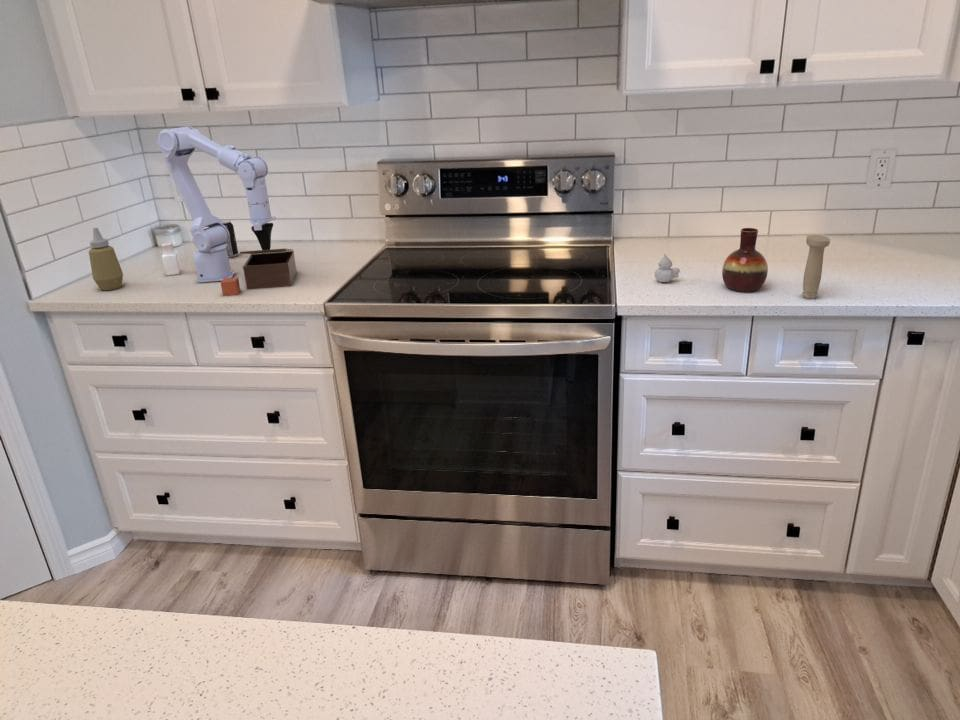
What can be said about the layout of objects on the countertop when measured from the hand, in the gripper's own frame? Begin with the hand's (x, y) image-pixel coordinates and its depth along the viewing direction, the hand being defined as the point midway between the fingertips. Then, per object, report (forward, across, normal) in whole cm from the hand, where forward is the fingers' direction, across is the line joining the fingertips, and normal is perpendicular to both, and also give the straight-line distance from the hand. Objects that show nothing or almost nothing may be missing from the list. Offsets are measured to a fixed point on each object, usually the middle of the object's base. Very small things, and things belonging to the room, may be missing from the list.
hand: (266, 249), depth 200 cm
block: (+10, -8, +10) cm, 16 cm away
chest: (+10, +2, 0) cm, 10 cm away
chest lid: (+1, +1, 0) cm, 2 cm away
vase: (+10, -39, -127) cm, 133 cm away
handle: (+10, -50, -139) cm, 148 cm away
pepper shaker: (+10, +18, +33) cm, 39 cm away
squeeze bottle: (+10, +7, +48) cm, 50 cm away
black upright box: (+10, +35, +19) cm, 41 cm away
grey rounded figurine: (+10, -29, -110) cm, 114 cm away
